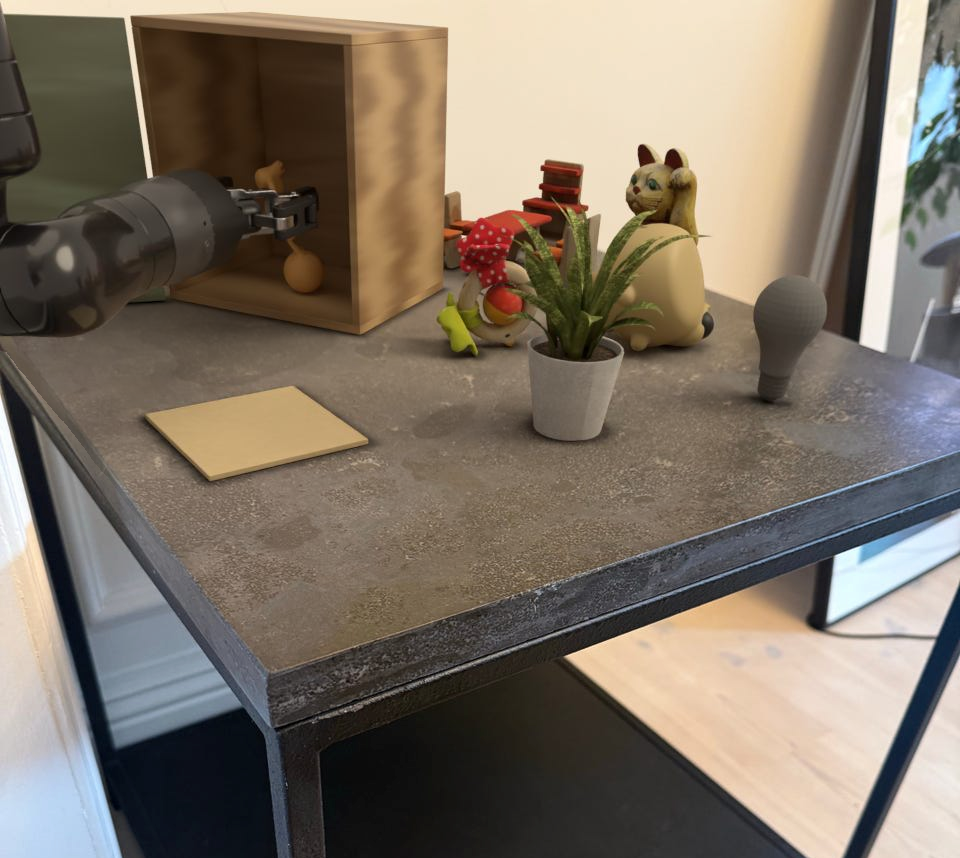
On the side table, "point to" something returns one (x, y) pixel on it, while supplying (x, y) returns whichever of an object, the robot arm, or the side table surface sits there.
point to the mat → (253, 432)
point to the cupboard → (308, 151)
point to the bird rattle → (487, 268)
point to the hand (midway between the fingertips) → (271, 193)
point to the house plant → (578, 327)
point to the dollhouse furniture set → (533, 218)
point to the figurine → (301, 264)
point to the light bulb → (786, 329)
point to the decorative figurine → (664, 189)
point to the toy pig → (663, 291)
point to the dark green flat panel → (76, 114)
